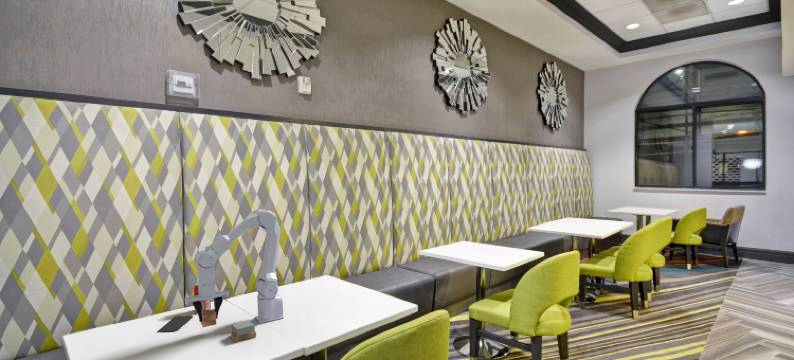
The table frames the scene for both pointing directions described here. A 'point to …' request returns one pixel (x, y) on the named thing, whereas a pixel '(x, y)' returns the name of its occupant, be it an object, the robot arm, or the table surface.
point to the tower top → (243, 327)
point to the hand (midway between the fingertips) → (208, 319)
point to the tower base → (243, 336)
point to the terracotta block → (208, 318)
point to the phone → (175, 324)
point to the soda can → (205, 304)
